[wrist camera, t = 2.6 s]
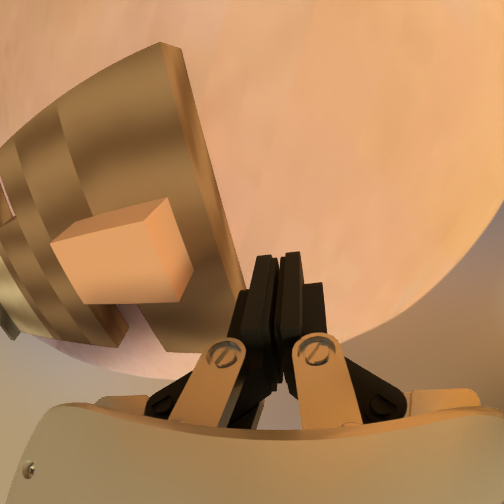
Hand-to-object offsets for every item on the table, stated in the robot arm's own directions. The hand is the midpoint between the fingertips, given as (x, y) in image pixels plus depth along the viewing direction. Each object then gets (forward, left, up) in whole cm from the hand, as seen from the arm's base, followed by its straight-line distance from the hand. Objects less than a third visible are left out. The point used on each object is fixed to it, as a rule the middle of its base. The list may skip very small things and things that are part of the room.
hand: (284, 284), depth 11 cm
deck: (-1, -23, -8) cm, 24 cm away
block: (-1, -10, -5) cm, 11 cm away
